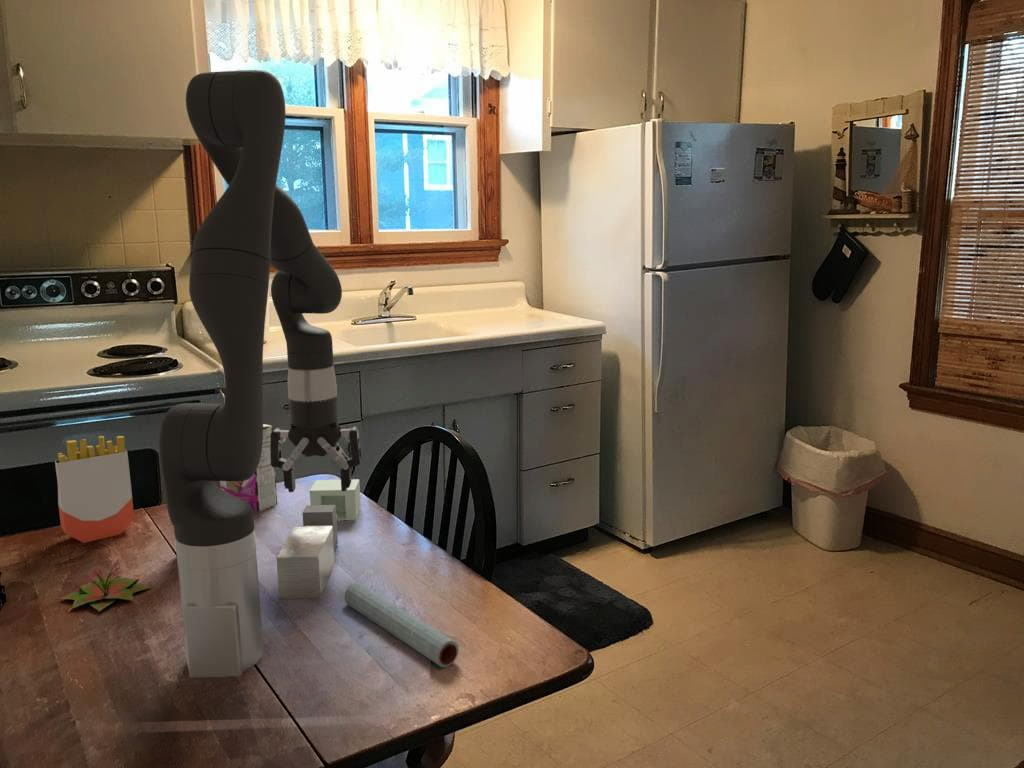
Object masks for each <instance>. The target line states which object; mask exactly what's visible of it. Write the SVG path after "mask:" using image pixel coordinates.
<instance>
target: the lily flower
mask: <svg viewBox="0 0 1024 768" xmlns="http://www.w3.org/2000/svg"><path fill="white" fill-rule="evenodd" d="M117 565H118V563H115V564H114V566H113V567H112V568H111V570H110V572H109V573H107V571H105V573H103V572H102V571H101V570H100V567H98V566H96V569H97V570H98V571H99V573H100V574H99V573H98V572H97V571H96V570H94V569H91V571H92V572H93V573H94V575H95V576H96V577H97V579H98V580H93V578H90V577H87V579H88V580H89V581H90V582H88V583H86V584H82V585H80V589H81V590H76V591H73V592H70V593H69V594H66V595H65V596H62V597H59V598H58V599H60V600H61V599H64V600H74V601H73V602H72V606H71V607H70V610H72V609H74V608H75V609H76V608H77V607H79V606H83V605H85V604H88V603H89V605H90V606H91V607H92V608H93V609H95V610H97V611H98V612H101V611H102V610H103V609H105V608H106V607H108V606H110V605H111V604H113V603H115V602H116V601H117V599H121V600H125V601H132V602H135V600H134V596H133V594H134V593H137V592H139V591H145V590H148V589H150V588H153V586H148V585H145V584H141V583H135V582H136V581H138V580H140V578H135V577H134V578H133V577H132V578H131V577H122V578H121V577H120V575H117V572H116V571H117V570H120V569H121V566H118V567H117V568H115V567H116V566H117ZM114 568H115V570H113V569H114ZM104 575H105V577H104ZM116 575H117V576H116ZM134 583H135V584H134ZM109 593H112V594H111V595H110V596H108V595H109ZM102 595H103V596H102ZM103 599H106V600H103Z"/></svg>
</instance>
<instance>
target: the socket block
mask: <svg viewBox="0 0 1024 768" xmlns="http://www.w3.org/2000/svg"><path fill="white" fill-rule="evenodd" d="M309 499H310V501H309V502H310V504H309V505H336V514H337V520H339V521H338V522H344V521H343V520H356V519H357V520H358V517H359V515H358V514H360V512H361V509H362V508H361V507H362V505H361V487H360V479H359V478H358V479H357V478H356V479H355V478H353V479H352V478H351V484H350V487H349V488H347V490H346V491H342V490H341V479H316V480H315V481H314V483H313V484H312V486H311V488H310V489H309ZM360 508H361V509H360ZM359 511H360V512H359ZM357 516H358V517H357ZM340 520H342V521H340ZM357 520H356V521H357Z"/></svg>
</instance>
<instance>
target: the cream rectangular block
mask: <svg viewBox="0 0 1024 768" xmlns="http://www.w3.org/2000/svg"><path fill="white" fill-rule="evenodd" d="M334 565H335V551H334V543H333V526H304V527H303V526H294V527H293V528H292V530H291V531H290V534H289V535H288V537H287V538H286V540H285V542H284V543H283V545H282V547H281V549H280V551H279V552H278V554H277V556H276V569H277V571H276V572H277V584H278V585H277V586H278V598H279V600H280V599H283V600H284V599H317V598H319V599H321V598H322V596H323V594H324V590H325V588H326V587H327V586H326V585H327V583H328V580H329V578H330V576H331V573H332V572H333V571H332V570H333V568H334Z"/></svg>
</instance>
